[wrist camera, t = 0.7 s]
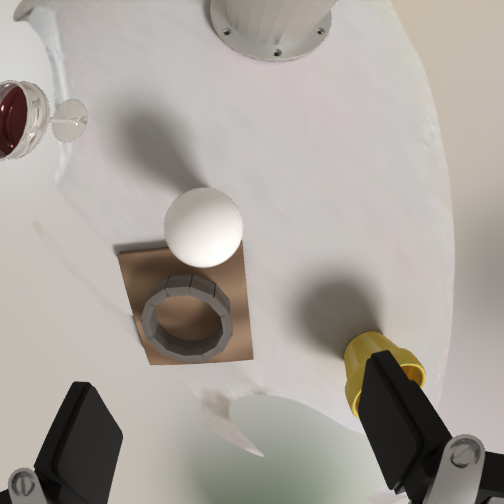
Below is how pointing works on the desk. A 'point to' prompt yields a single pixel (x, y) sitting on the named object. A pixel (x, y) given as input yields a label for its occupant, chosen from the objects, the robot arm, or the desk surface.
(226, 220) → the lightbulb
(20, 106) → the wineglass
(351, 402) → the plant pot
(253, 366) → the desk surface
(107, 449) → the robot arm
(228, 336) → the bulb holder
